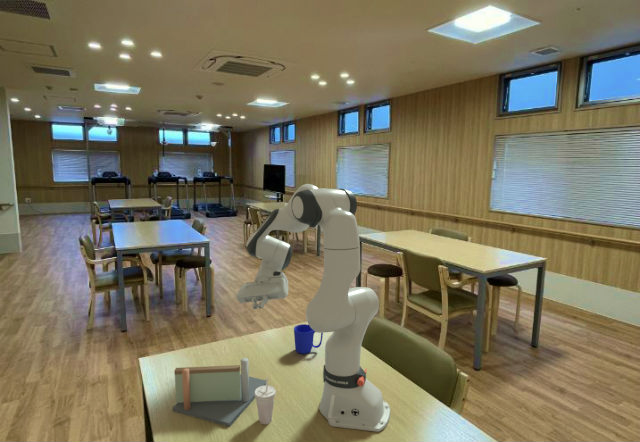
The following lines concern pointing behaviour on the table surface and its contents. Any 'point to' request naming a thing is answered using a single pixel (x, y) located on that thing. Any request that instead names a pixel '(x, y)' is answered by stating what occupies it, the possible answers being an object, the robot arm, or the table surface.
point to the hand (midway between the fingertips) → (257, 307)
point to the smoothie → (265, 402)
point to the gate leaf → (210, 383)
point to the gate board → (223, 409)
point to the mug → (304, 338)
